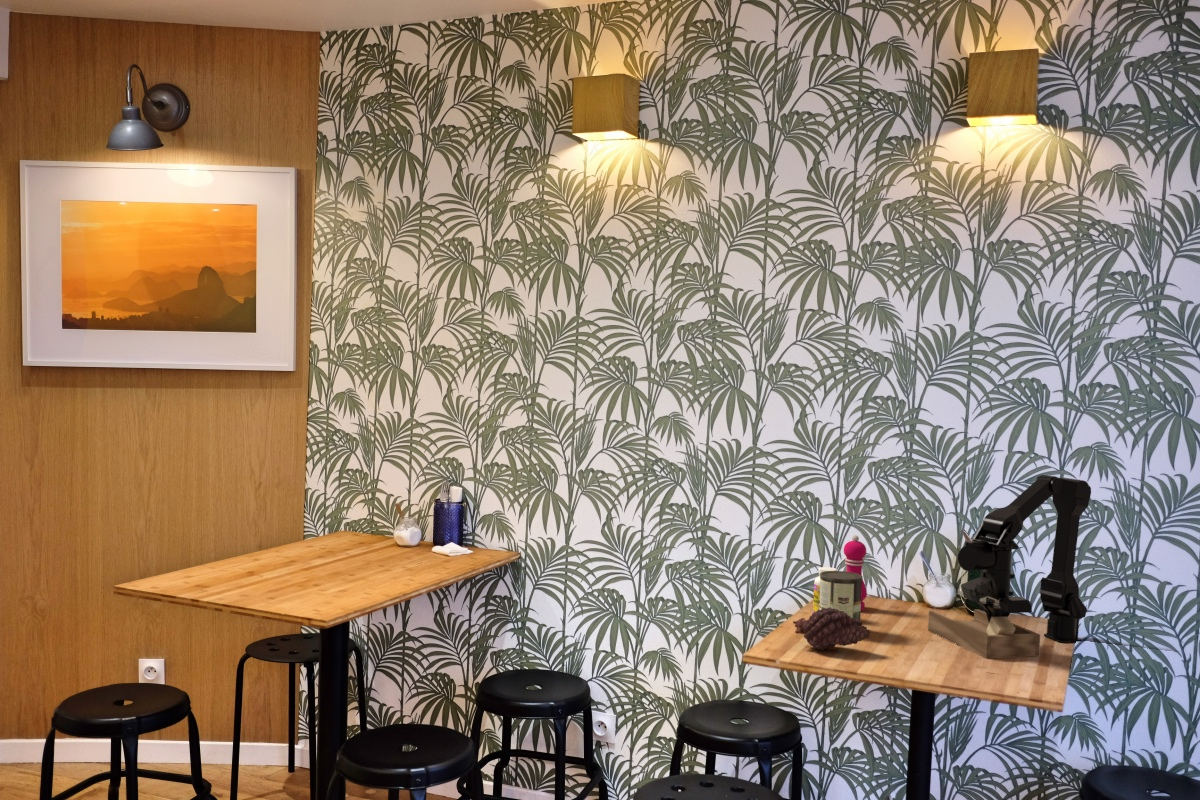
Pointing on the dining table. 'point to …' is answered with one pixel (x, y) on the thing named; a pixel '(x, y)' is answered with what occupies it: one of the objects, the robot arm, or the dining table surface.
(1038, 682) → the dining table surface
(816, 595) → the supplement bottle
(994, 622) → the beech block
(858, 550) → the pepper mill
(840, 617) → the pine cone
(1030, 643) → the tray
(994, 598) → the robot arm
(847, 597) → the coffee can
